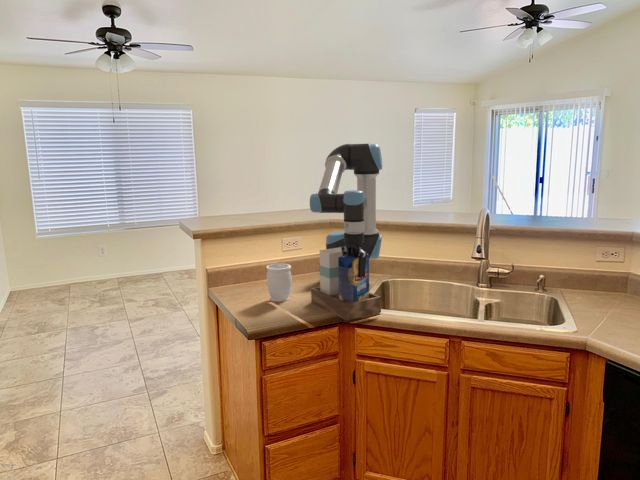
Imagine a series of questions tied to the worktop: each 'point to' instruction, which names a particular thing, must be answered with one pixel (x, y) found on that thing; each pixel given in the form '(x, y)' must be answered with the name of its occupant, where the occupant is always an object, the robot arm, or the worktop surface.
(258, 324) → the worktop surface
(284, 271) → the jar
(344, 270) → the blue food box
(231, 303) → the worktop surface
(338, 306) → the bin
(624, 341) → the worktop surface
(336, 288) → the banded carton
